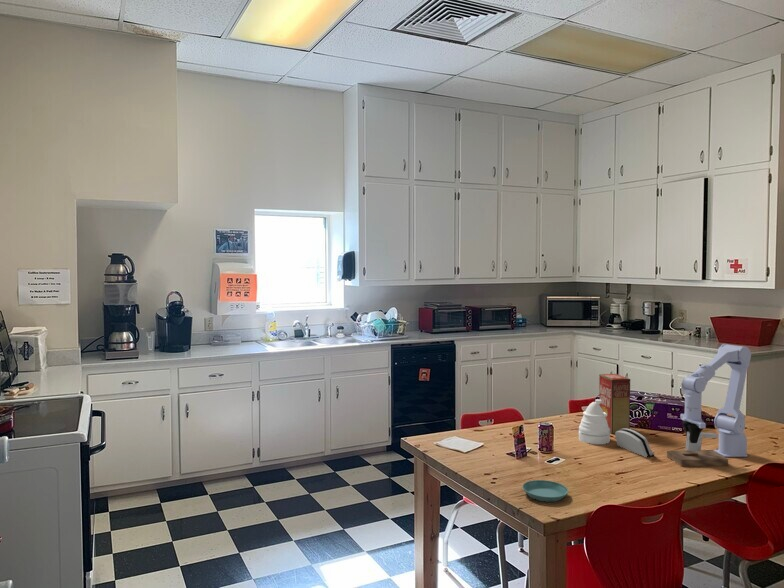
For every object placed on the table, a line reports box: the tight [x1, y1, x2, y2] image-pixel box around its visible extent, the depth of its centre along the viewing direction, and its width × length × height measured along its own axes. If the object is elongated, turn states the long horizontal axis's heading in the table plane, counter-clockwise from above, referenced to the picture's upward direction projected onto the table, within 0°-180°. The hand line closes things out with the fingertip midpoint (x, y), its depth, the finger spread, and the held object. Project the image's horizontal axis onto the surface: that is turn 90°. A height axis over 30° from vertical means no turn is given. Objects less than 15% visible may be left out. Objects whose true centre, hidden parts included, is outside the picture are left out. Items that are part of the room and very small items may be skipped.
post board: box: [666, 449, 729, 467], centre depth 228 cm, size 18×11×2 cm, turn 92°
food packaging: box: [598, 373, 631, 435], centre depth 271 cm, size 13×9×25 cm
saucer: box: [521, 479, 569, 503], centre depth 195 cm, size 15×15×3 cm
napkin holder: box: [614, 428, 656, 458], centre depth 240 cm, size 17×5×10 cm, turn 18°
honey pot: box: [578, 398, 611, 445], centre depth 255 cm, size 13×13×18 cm
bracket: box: [684, 431, 719, 451], centre depth 227 cm, size 11×2×7 cm, turn 92°
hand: (692, 441), depth 227 cm, fingers closed on bracket, 2 cm apart
